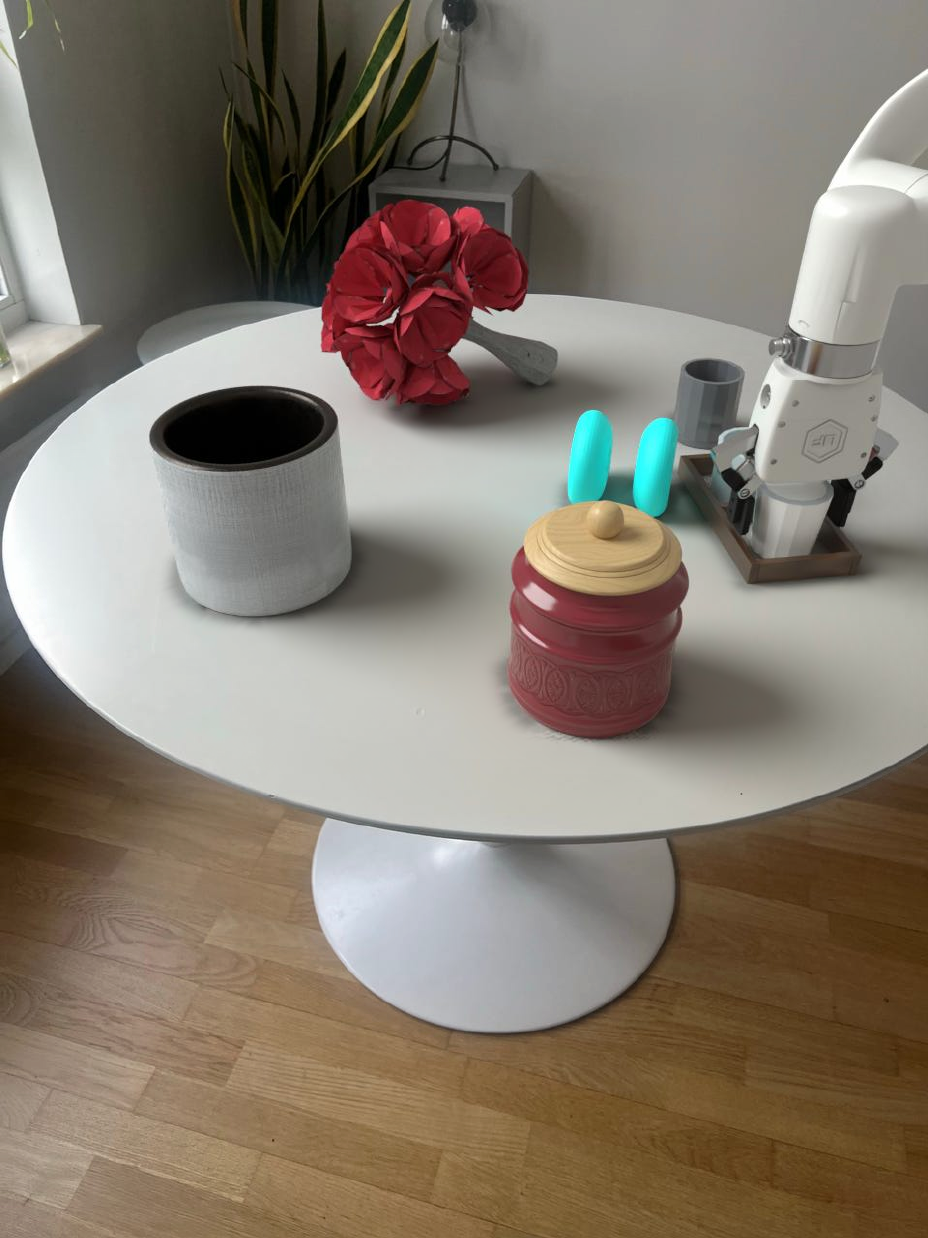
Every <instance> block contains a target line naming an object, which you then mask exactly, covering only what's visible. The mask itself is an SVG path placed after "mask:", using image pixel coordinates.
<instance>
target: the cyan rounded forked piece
mask: <svg viewBox="0 0 928 1238" xmlns="http://www.w3.org/2000/svg"><path fill="white" fill-rule="evenodd" d="M575 426H576V427H575V430H574V435H573V439H572V444H571V445H572V446H571V451H570V457H569V466H568V474H567V496H568V500H569V501H570V503H571V505H572V504H576V503H580V502H588V501H600V500H601V498H602V496H603V494H604V493H605V490H606V487H607V483H608V478H609V473H610V466H611V459H612V453H613V452H612V451H613V443H614V442H613V441H614V440H613V439H614V434H613V433H614V432H613V428H612V423H611V421H610V419H609V418H608V417H607V415H605V413H604V412H602V411H600V410H597V409H589V410H587V411H585V412H583V413H582V415H580V417H579V418H578V421H577V423H576V425H575ZM677 439H678V427H677V425H676V423H675V422H674V421H673V419H671V418H669V417H659V418H656V419H654V420H652V421H651V422H650V423H649V424H648V425H647V426H646V428H645V429H644V431H643V432H642V435H641V437H640V441H639V446H638V450H637V456H636V463H635V470H634V475H633V476H634V477H633V483H632V485H633V486H632V498H633V502H634V505H635V508H636V509H639V510H641V511H643V512H645V513H646V514H648V515H649V516H651V517H653V518H657V517H660V516H661V515H662V514H664V513H665V511H666V510H667V507H668V502H669V495H670V489H671V484H672V478H673V471H674V464H675V457H676V452H677V445H678V441H677Z"/></svg>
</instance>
